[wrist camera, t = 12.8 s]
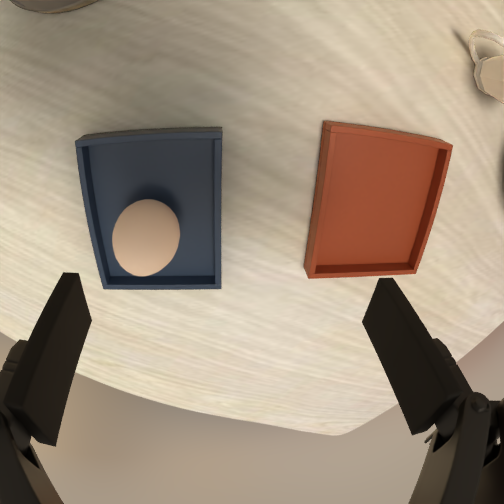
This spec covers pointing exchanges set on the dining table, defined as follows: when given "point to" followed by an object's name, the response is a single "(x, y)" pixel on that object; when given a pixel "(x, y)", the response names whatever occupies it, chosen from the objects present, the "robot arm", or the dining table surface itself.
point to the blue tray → (157, 188)
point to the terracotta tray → (373, 201)
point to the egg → (145, 237)
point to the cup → (488, 67)
